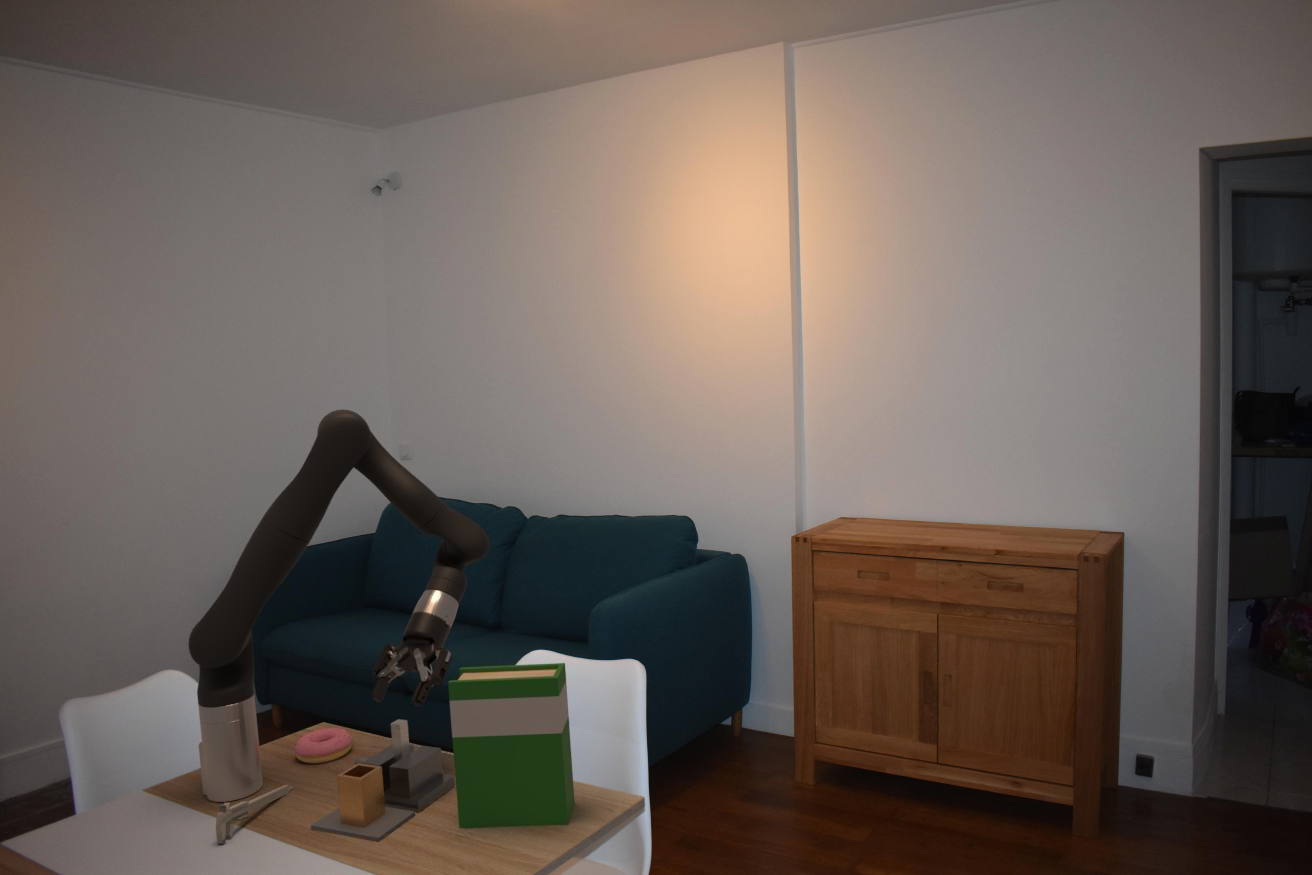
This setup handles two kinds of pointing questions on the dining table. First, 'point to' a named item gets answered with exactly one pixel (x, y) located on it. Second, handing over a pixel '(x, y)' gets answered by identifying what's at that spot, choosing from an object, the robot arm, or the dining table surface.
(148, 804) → the dining table surface
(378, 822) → the slate pad
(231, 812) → the caliper
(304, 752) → the doughnut
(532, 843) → the dining table surface
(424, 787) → the grey slotted block
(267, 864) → the dining table surface
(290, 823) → the dining table surface
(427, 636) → the robot arm
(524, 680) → the hardback book
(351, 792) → the copper collar
